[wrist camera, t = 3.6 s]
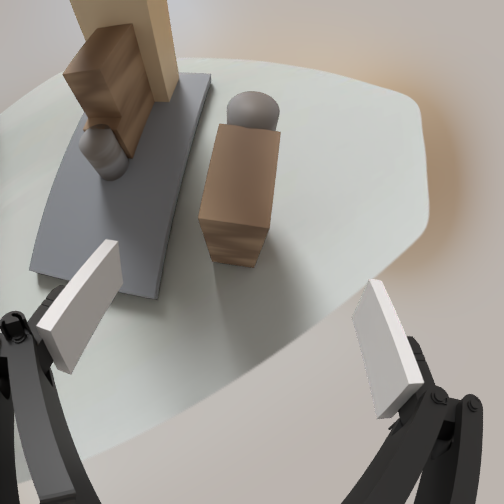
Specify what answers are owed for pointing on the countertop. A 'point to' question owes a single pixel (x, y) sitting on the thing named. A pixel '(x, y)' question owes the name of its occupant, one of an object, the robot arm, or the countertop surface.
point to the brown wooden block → (241, 180)
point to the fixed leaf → (111, 97)
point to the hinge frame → (139, 169)
